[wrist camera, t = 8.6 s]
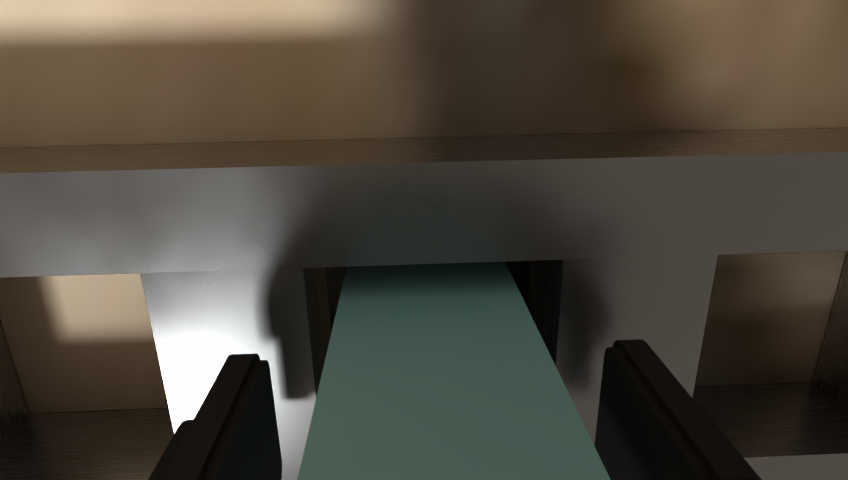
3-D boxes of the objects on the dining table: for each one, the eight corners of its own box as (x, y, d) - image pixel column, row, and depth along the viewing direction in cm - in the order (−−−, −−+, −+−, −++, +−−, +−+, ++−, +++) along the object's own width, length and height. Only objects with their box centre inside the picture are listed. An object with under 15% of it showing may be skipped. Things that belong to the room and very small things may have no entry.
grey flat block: (893, 436, 18) (987, 511, 15) (-59, 478, 17) (-153, 566, 14) (999, 124, 14) (1147, 144, 11) (-191, 152, 13) (-350, 182, 10)
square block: (493, 372, 16) (623, 823, 7) (358, 377, 16) (303, 846, 7) (497, 246, 15) (667, 594, 6) (350, 251, 15) (266, 616, 5)
